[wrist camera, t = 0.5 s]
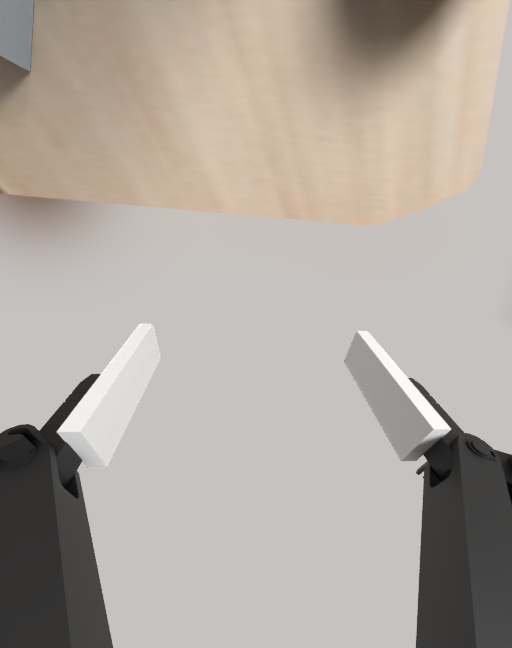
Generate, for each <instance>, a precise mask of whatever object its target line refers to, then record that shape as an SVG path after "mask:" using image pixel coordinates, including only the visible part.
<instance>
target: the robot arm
mask: <svg viewBox="0 0 512 648" xmlns="http://www.w3.org/2000/svg"><path fill="white" fill-rule="evenodd" d="M160 358H161V355H160V351H159V347H158V343H157V339H156V335H155V331H154V327H153V324H139V325H138V327H137V328H136V329H135V330H134V332H133V333H132V334H131V336H130V337H129V338H128V340H127V341H126V342H125V343H124V345H123V346H122V347H121V349H120V350H119V351H118V353H117V354H116V355H115V357H114V358H113V359H112V360H111V362H110V363H109V364H108V366H107V367H106V368H105V370H104V371H103V372H102V373H101V374H91V375H90V376H89V377H87V378H86V379H85V380H83V381H82V382H80V384H79V385H78V386H77V387H76V388H75V390H74V391H73V392H72V394H70V395H69V397H68V398H67V399H66V401H65V402H64V403H63V404H62V405H61V406H60V407H59V409H58V410H57V411H56V412H55V413H54V414H53V416H52V417H51V418H50V419H49V420H48V421H47V423H46V424H45V425H44V426H43V427H42V429H41V430H40V431H38V430H37V429H36V428H35V427H34V426H32V425H29V424H26V425H18V426H15V427H13V428H10V429H7V430H5V431H4V432H2V433H0V648H113V645H112V640H111V635H110V631H109V625H108V620H107V614H106V609H105V605H104V600H103V594H102V589H101V584H100V579H99V574H98V569H97V564H96V559H95V553H94V549H93V543H92V538H91V533H90V528H89V523H88V519H87V513H86V508H85V502H84V497H83V492H82V487H81V482H80V477H79V473H78V472H77V469H78V467H79V466H80V464H81V462H82V461H83V462H84V464H85V465H86V466H87V467H107V466H108V464H109V462H110V460H111V458H112V456H113V454H114V452H115V450H116V448H117V446H118V444H119V441H120V440H121V438H122V436H123V434H124V431H125V429H126V427H127V425H128V423H129V421H130V419H131V417H132V415H133V413H134V411H135V409H136V407H137V405H138V403H139V401H140V399H141V397H142V395H143V393H144V391H145V389H146V386H147V385H148V383H149V381H150V379H151V376H152V375H153V372H154V371H155V368H156V366H157V364H158V362H159V360H160ZM344 362H345V364H346V365H347V367H348V369H349V371H350V373H351V374H352V376H353V377H354V380H355V381H356V383H357V385H358V387H359V388H360V390H361V392H362V393H363V395H364V397H365V399H366V401H367V402H368V404H369V406H370V407H371V409H372V411H373V413H374V415H375V416H376V418H377V420H378V422H379V423H380V425H381V426H382V428H383V430H384V432H385V434H386V436H387V437H388V439H389V441H390V443H391V444H392V446H393V448H394V449H395V451H396V453H397V455H398V457H399V458H400V460H401V461H417V460H418V458H420V457H421V456H422V455H424V456H425V457H426V459H427V462H426V463H425V464H424V465H422V466H421V467H420V468H419V469H418V470H417V472H416V473H417V474H418V475H419V474H421V473H422V472H423V471H424V477H423V478H424V489H423V510H422V531H421V553H420V573H419V594H418V616H417V637H416V638H417V639H416V648H512V455H510V454H507V453H503V452H500V451H497V450H493V448H492V447H490V446H489V445H488V444H487V443H486V442H484V441H483V440H481V439H480V438H478V437H476V436H474V435H471V434H467V433H464V432H463V431H462V430H461V429H460V428H459V427H458V426H457V424H456V423H455V422H454V421H453V420H452V419H451V418H450V416H449V415H448V414H447V413H446V412H445V411H444V410H443V409H442V408H441V406H440V405H439V404H438V403H436V401H435V400H434V399H433V397H432V396H430V394H429V393H428V392H427V391H426V390H425V389H424V387H423V386H422V385H420V384H419V383H418V382H416V381H415V380H414V379H412V378H407V376H406V375H405V374H404V373H403V372H402V371H401V369H399V367H398V366H397V365H396V364H395V362H394V361H393V360H392V359H391V358H390V357H389V356H388V354H387V353H386V352H385V351H384V350H383V348H382V347H381V346H380V345H379V344H378V343H377V341H376V340H375V339H374V338H373V337H372V336H371V334H370V333H369V332H368V331H357V332H356V334H355V336H354V339H353V341H352V343H351V346H350V348H349V350H348V353H347V355H346V357H345V360H344Z"/></svg>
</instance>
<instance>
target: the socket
mask: <svg viewBox="0 0 512 648" xmlns="http://www.w3.org/2000/svg"><path fill="white" fill-rule="evenodd" d="M33 10H34V0H0V56H2V57H4V58H5V59H7V60H9V61H11V62H13V63H15V64H16V65H18V66H20V67H22V68H24V69H26V70H27V71H29V72H30V67H31V48H32V29H33Z"/></svg>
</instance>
